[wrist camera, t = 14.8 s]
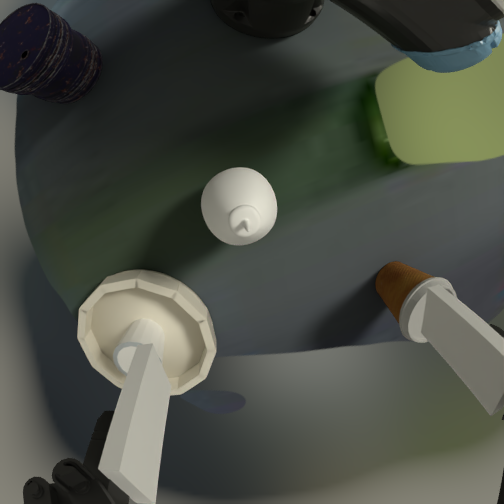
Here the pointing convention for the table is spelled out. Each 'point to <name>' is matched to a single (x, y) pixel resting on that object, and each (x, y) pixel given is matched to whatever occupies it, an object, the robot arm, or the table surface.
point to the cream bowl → (158, 310)
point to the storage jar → (46, 56)
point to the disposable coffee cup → (407, 295)
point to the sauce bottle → (239, 206)
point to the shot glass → (138, 342)
